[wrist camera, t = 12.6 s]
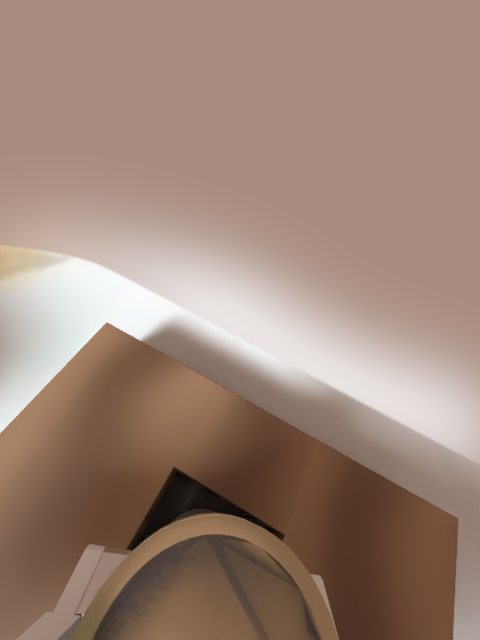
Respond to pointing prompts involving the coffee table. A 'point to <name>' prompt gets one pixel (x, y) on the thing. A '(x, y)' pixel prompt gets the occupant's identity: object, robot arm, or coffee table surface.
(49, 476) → the socket block
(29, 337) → the coffee table surface
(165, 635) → the grey upright cylinder
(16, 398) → the coffee table surface
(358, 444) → the coffee table surface
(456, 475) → the coffee table surface
